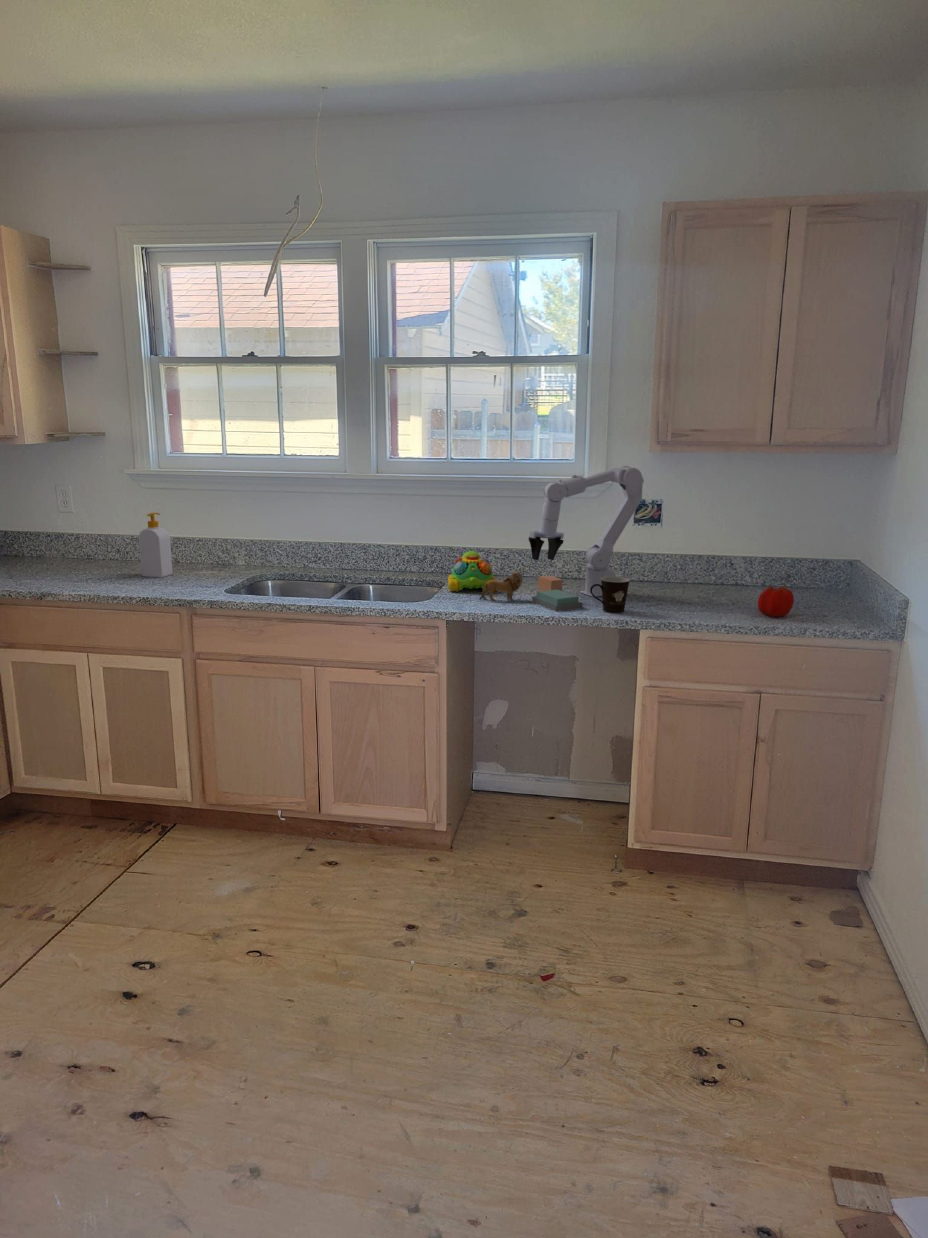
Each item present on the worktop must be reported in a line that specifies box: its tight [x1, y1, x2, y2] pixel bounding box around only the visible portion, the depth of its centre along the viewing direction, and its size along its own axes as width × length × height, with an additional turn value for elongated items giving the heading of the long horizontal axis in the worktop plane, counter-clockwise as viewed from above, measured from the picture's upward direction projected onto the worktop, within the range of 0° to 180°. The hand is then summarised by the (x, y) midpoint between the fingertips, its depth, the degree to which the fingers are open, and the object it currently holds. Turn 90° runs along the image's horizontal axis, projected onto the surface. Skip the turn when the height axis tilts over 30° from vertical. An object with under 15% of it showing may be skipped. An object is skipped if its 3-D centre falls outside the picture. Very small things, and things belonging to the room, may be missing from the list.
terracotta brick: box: [537, 575, 563, 591], centre depth 281 cm, size 4×8×6 cm, turn 27°
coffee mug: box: [590, 576, 630, 614], centre depth 258 cm, size 12×9×10 cm
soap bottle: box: [138, 512, 174, 579], centre depth 302 cm, size 9×7×23 cm
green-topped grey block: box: [531, 589, 584, 612], centre depth 265 cm, size 10×14×4 cm
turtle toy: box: [447, 550, 497, 593], centre depth 289 cm, size 17×23×12 cm
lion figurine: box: [478, 571, 523, 602], centre depth 271 cm, size 15×5×9 cm, turn 105°
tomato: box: [757, 586, 795, 618], centre depth 253 cm, size 11×11×9 cm
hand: (542, 559), depth 277 cm, fingers open, 7 cm apart
